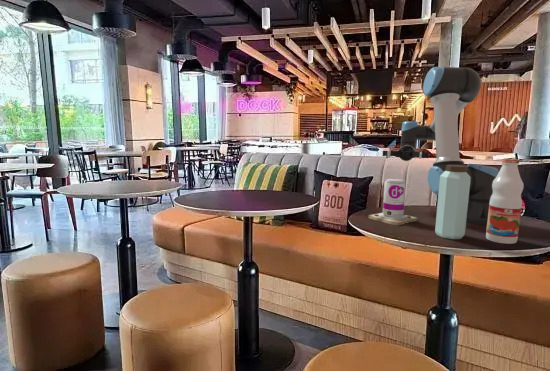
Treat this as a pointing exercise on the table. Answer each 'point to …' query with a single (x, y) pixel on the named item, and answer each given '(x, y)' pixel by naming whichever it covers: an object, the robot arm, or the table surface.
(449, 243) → the table surface
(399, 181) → the supplement can
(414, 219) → the dock board
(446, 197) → the water bottle
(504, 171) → the fruit juice
